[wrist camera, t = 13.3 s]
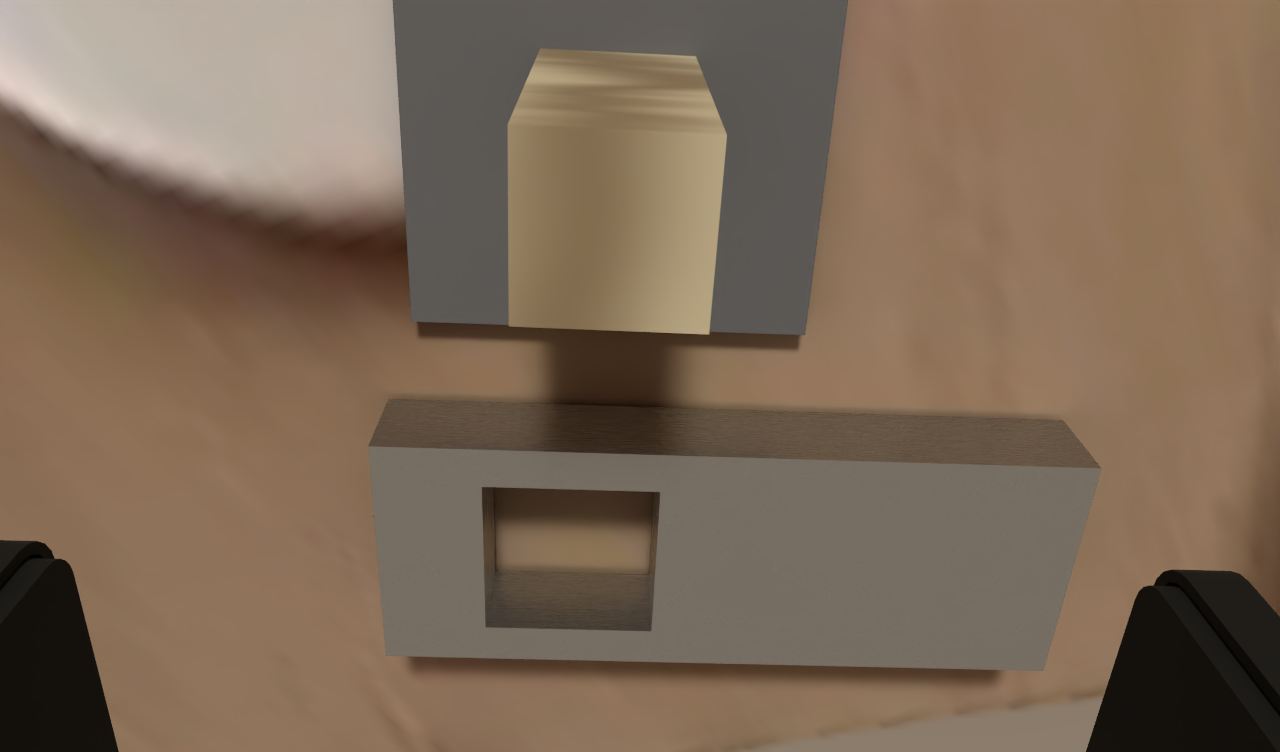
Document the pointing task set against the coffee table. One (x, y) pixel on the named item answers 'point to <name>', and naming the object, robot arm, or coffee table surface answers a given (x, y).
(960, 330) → the coffee table surface
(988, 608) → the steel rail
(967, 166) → the coffee table surface
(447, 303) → the charcoal mat
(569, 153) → the birch peg
